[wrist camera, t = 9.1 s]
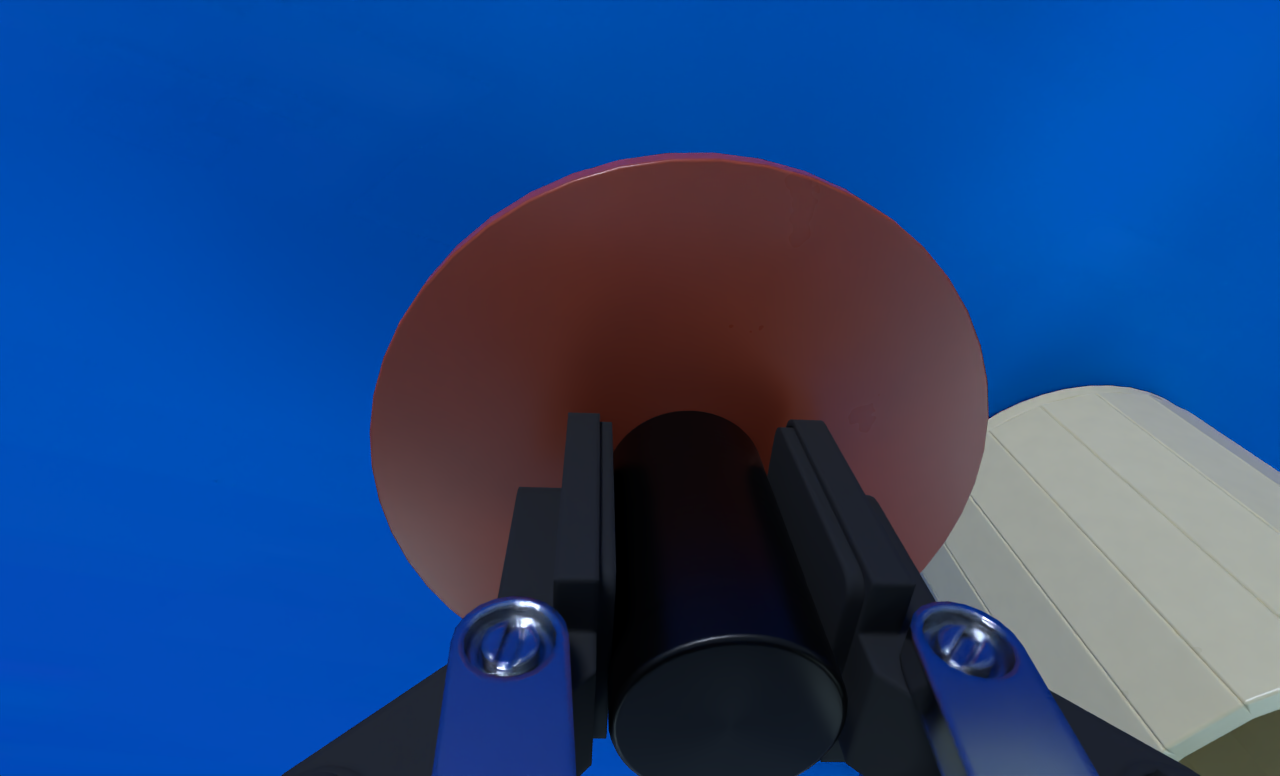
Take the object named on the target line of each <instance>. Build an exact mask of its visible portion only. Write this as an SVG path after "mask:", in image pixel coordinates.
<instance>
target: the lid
mask: <svg viewBox="0 0 1280 776" xmlns="http://www.w3.org/2000/svg"><path fill="white" fill-rule="evenodd" d="M568 412H572V413H600V422H612V433H613V471H614V509H615V547H616V593H615V610H614V625H613V641H612V656H611V661H610V664H609V670H608V724H609V733H610V737H611V740H612V743H613V745H614V747H615V749H616V751H617V753H618V755H619V756H620V758H621V759H622V760H623V762H624V763H625V764H626V765H627V766H628V767H629V768H630V769H631V770H632V771H633V772H635V773H636V774H637V775H639V776H797V775H799V774H801V773H802V772H804V771H805V770H807V769H809V768H810V767H811V766H813V765H814V764H815V763H817V762H818V761H819V760H820V759H821V758H822V757H823V756H824V755H825V754H826V753H827V752H828V751H829V750H830V749H831V748H832V746H833V745H834V744H835V742H836V741H837V739H838V737H839V736H840V734H841V732H842V729H843V727H844V724H845V720H846V716H847V707H848V697H847V692H846V687H845V684H844V682H843V679H842V676H841V674H840V671H839V668H838V666H837V663H836V660H835V657H834V655H833V652H832V649H831V647H830V644H829V641H828V639H827V636H826V633H825V631H824V628H823V625H822V622H821V620H820V617H819V614H818V612H817V609H816V606H815V604H814V601H813V598H812V596H811V593H810V590H809V587H808V585H807V582H806V579H805V577H804V574H803V571H802V569H801V566H800V563H799V561H798V558H797V555H796V552H795V550H794V547H793V544H792V542H791V539H790V536H789V534H788V531H787V528H786V526H785V523H784V520H783V517H782V515H781V512H780V509H779V507H778V504H777V501H776V499H775V496H774V493H773V491H772V488H771V485H770V482H769V480H768V477H767V474H768V469H769V463H770V458H771V452H772V447H773V442H774V436H775V432H776V430H777V428H778V427H786V425H787V423H788V421H789V420H790V419H794V420H821V421H823V422H824V423H825V424H826V426H827V428H828V430H829V431H830V433H831V435H832V437H833V438H834V440H835V442H836V444H837V445H838V447H839V449H840V451H841V452H842V454H843V456H844V458H845V460H846V461H847V463H848V465H849V467H850V468H851V470H852V472H853V474H854V475H855V477H856V479H857V481H858V483H859V484H860V486H861V488H862V490H863V491H864V493H865V495H870V496H872V497H874V498H875V499H876V500H877V502H878V503H879V505H880V506H881V508H882V510H883V512H884V513H885V515H886V517H887V518H888V520H889V522H890V524H891V525H892V527H893V529H894V530H895V532H896V534H897V535H898V537H899V539H900V541H901V542H902V544H903V546H904V547H905V549H906V551H907V553H908V554H909V556H910V558H911V559H912V561H913V563H914V565H915V566H916V568H917V570H918V571H919V573H921V572H922V571H923V570H924V569H925V567H926V566H927V565H928V564H929V562H930V561H931V560H932V558H933V557H934V556H935V554H936V553H937V552H938V551H939V549H940V548H941V547H942V545H943V544H944V543H945V541H946V540H947V538H948V536H949V535H950V533H951V531H952V530H953V528H954V526H955V524H956V523H957V521H958V519H959V518H960V516H961V514H962V512H963V510H964V508H965V505H966V503H967V501H968V498H969V496H970V494H971V492H972V489H973V487H974V485H975V482H976V478H977V475H978V471H979V468H980V464H981V460H982V457H983V453H984V448H985V440H986V432H987V424H988V383H987V377H986V371H985V366H984V361H983V356H982V351H981V345H980V343H979V340H978V337H977V335H976V332H975V329H974V326H973V324H972V321H971V318H970V316H969V313H968V311H967V309H966V307H965V305H964V304H963V302H962V300H961V298H960V297H959V295H958V293H957V291H956V290H955V288H954V286H953V284H952V283H951V281H950V279H949V278H948V276H947V275H946V274H945V273H944V271H943V270H942V269H941V268H940V266H939V265H938V264H937V263H936V262H935V260H934V259H933V258H932V257H931V255H930V254H929V253H928V252H927V251H926V249H925V248H924V247H923V246H922V245H921V244H920V243H918V242H917V241H916V240H915V239H914V238H913V237H912V236H911V235H909V234H908V233H907V232H906V231H905V230H904V229H903V228H902V227H900V226H899V225H898V224H897V223H896V222H895V221H894V220H893V219H891V218H890V217H888V216H886V215H885V214H883V213H882V212H880V211H879V210H877V209H876V208H874V207H872V206H871V205H869V204H868V203H866V202H865V201H863V200H861V199H860V198H858V197H857V196H855V195H854V194H852V193H851V192H849V191H847V190H846V189H844V188H842V187H839V186H837V185H835V184H833V183H830V182H828V181H826V180H824V179H821V178H819V177H817V176H815V175H812V174H810V173H808V172H806V171H803V170H799V169H795V168H792V167H788V166H785V165H781V164H777V163H774V162H770V161H767V160H763V159H758V158H750V157H743V156H735V155H728V154H720V153H664V154H658V155H651V156H644V157H637V158H630V159H623V160H618V161H614V162H611V163H607V164H604V165H600V166H597V167H594V168H590V169H587V170H583V171H580V172H576V173H573V174H571V175H568V176H566V177H564V178H562V179H559V180H557V181H555V182H553V183H550V184H548V185H546V186H544V187H541V188H539V189H537V190H535V191H532V192H530V193H529V194H527V195H525V196H524V197H522V198H521V199H519V200H517V201H516V202H514V203H513V204H511V205H509V206H508V207H506V208H505V209H503V210H501V211H500V212H498V213H496V214H495V215H493V216H492V217H490V218H489V219H488V220H487V221H486V222H484V223H483V224H482V225H481V226H480V227H479V228H477V229H476V230H475V231H474V232H473V233H471V234H470V235H469V236H468V237H467V238H465V239H464V240H463V241H462V242H461V243H459V244H458V245H457V246H456V247H455V249H454V250H453V251H452V252H451V253H450V254H449V255H448V256H447V258H446V259H445V260H444V261H443V262H442V263H441V264H440V265H439V267H438V268H437V269H436V270H435V271H434V272H433V273H432V274H431V276H430V277H429V278H428V280H427V281H426V282H425V284H424V285H423V287H422V288H421V290H420V291H419V293H418V294H417V296H416V297H415V299H414V301H413V302H412V304H411V305H410V307H409V308H408V310H407V311H406V313H405V314H404V316H403V317H402V319H401V321H400V322H399V324H398V327H397V329H396V331H395V333H394V336H393V338H392V340H391V342H390V344H389V347H388V349H387V351H386V353H385V356H384V358H383V361H382V365H381V369H380V372H379V376H378V380H377V384H376V387H375V391H374V395H373V404H372V414H371V424H370V444H371V461H372V469H373V474H374V478H375V483H376V488H377V492H378V497H379V501H380V504H381V506H382V509H383V511H384V514H385V517H386V519H387V522H388V524H389V527H390V529H391V532H392V534H393V536H394V537H395V539H396V541H397V543H398V544H399V546H400V548H401V550H402V551H403V553H404V555H405V557H406V558H407V560H408V562H409V563H410V564H411V565H412V567H413V568H414V569H415V571H416V572H417V573H418V575H419V576H420V577H421V579H422V580H423V581H424V582H425V584H426V585H427V586H428V587H429V588H430V589H431V590H432V591H433V592H434V593H435V594H436V595H437V596H438V597H439V598H440V599H441V600H442V601H443V602H444V603H445V604H446V605H447V606H448V607H449V608H450V609H451V610H452V611H453V612H455V613H456V614H457V615H458V616H460V617H461V618H462V619H463V618H464V616H465V615H466V614H468V613H469V612H471V611H472V610H473V609H475V608H476V607H477V606H479V605H481V604H483V603H486V602H488V601H491V600H493V599H497V598H498V593H499V587H500V582H501V577H502V571H503V566H504V560H505V555H506V549H507V544H508V539H509V533H510V528H511V522H512V517H513V511H514V506H515V501H516V495H517V491H518V488H519V487H548V488H562V477H563V465H564V454H565V443H566V431H567V420H568Z"/></svg>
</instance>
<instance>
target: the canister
mask: <svg viewBox="0 0 1280 776" xmlns="http://www.w3.org/2000/svg"><path fill="white" fill-rule="evenodd" d="M920 575H921V577H922V578H923V580H924V582H925V583H926V585H927V587H928V589H929V590H930V592H931V594H932V595H933V597H934V599H935V601H936V602H941V601H950V602H955V603H961V604H965V605H968V606H971V607H973V608H976V609H979V610H981V611H983V612H985V613H987V614H988V615H990V616H992V617H994V618H995V619H997V620H999V621H1000V622H1001V623H1002V624H1003V625H1005V626H1006V627H1007V628H1008V629H1009V630H1011V631H1012V632H1013V633H1014V635H1015V636H1016V637H1017V638H1018V640H1019V641H1020V642H1021V644H1022V645H1023V646H1024V648H1025V650H1026V651H1027V653H1028V655H1029V657H1030V658H1031V660H1032V662H1033V663H1034V665H1035V667H1036V668H1037V670H1038V672H1039V674H1040V675H1041V677H1042V679H1043V680H1044V682H1045V684H1046V686H1047V687H1048V689H1049V690H1051V691H1052V692H1054V693H1056V694H1058V695H1059V696H1061V697H1063V698H1065V699H1067V700H1068V701H1070V702H1072V703H1074V704H1076V705H1077V706H1079V707H1081V708H1083V709H1084V710H1086V711H1088V712H1090V713H1092V714H1093V715H1095V716H1097V717H1099V718H1101V719H1102V720H1104V721H1106V722H1108V723H1110V724H1111V725H1113V726H1115V727H1117V728H1118V729H1120V730H1122V731H1124V732H1126V733H1127V734H1129V735H1131V736H1133V737H1135V738H1136V739H1138V740H1140V741H1142V742H1143V743H1145V744H1147V745H1149V746H1151V747H1152V748H1154V749H1156V750H1158V751H1160V752H1161V753H1163V754H1165V755H1167V756H1168V757H1170V758H1172V759H1174V760H1176V761H1177V762H1179V763H1181V764H1183V765H1185V766H1186V767H1188V768H1190V769H1191V770H1193V771H1194V772H1196V773H1197V774H1199V775H1200V776H1280V472H1278V471H1277V470H1275V469H1274V468H1272V467H1271V466H1269V465H1268V464H1266V463H1265V462H1263V461H1262V460H1260V459H1259V458H1257V457H1256V456H1254V455H1253V454H1251V453H1250V452H1248V451H1247V450H1245V449H1244V448H1242V447H1241V446H1239V445H1238V444H1236V443H1235V442H1233V441H1232V440H1230V439H1229V438H1227V437H1226V436H1224V435H1223V434H1221V433H1220V432H1219V431H1217V430H1216V429H1214V428H1213V427H1211V426H1210V425H1208V424H1207V423H1205V422H1204V421H1202V420H1201V419H1199V418H1198V417H1196V416H1195V415H1193V414H1192V413H1190V412H1188V411H1187V410H1185V409H1182V408H1179V407H1177V406H1176V405H1174V404H1172V403H1171V402H1169V401H1168V400H1166V399H1164V398H1162V397H1159V396H1157V395H1154V394H1152V393H1150V392H1146V391H1142V390H1138V389H1134V388H1129V387H1119V386H1084V387H1077V388H1069V389H1064V390H1060V391H1055V392H1051V393H1047V394H1043V395H1041V396H1038V397H1035V398H1032V399H1029V400H1026V401H1023V402H1021V403H1019V404H1017V405H1014V406H1012V407H1010V408H1008V409H1006V410H1004V411H1002V412H1000V413H998V414H996V415H995V416H993V417H991V418H989V419H988V424H987V432H986V440H985V448H984V453H983V457H982V460H981V464H980V468H979V471H978V475H977V478H976V482H975V485H974V487H973V489H972V492H971V494H970V496H969V498H968V501H967V503H966V505H965V508H964V510H963V512H962V514H961V516H960V518H959V519H958V521H957V523H956V524H955V526H954V528H953V530H952V531H951V533H950V535H949V536H948V538H947V540H946V541H945V543H944V544H943V545H942V547H941V548H940V549H939V551H938V552H937V553H936V554H935V556H934V557H933V558H932V560H931V561H930V562H929V564H928V565H927V566H926V567H925V569H924V570H923V571H922V572H921V573H920Z"/></svg>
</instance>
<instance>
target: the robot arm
mask: <svg viewBox="0 0 1280 776" xmlns="http://www.w3.org/2000/svg"><path fill="white" fill-rule="evenodd" d="M767 477H768V480H769V482H770V485H771V488H772V491H773V493H774V496H775V499H776V501H777V504H778V507H779V509H780V512H781V515H782V517H783V520H784V523H785V526H786V528H787V531H788V534H789V536H790V539H791V542H792V544H793V547H794V550H795V552H796V555H797V558H798V561H799V563H800V566H801V569H802V571H803V574H804V577H805V579H806V582H807V585H808V587H809V590H810V593H811V596H812V598H813V601H814V604H815V606H816V609H817V612H818V614H819V617H820V620H821V622H822V625H823V628H824V631H825V633H826V636H827V639H828V641H829V644H830V647H831V649H832V652H833V655H834V657H835V660H836V663H837V666H838V668H839V671H840V674H841V676H842V679H843V682H844V684H845V687H846V692H847V697H848V707H847V716H846V720H845V724H844V727H843V729H842V732H841V734H840V736H839V737H838V739H837V741H836V742H835V744H834V745H833V746H832V748H831V749H830V750H829V751H828V752H827V753H826V754H825V755H824V756H823V757H822V758H821V759H820V760H821V762H846V764H848V765H849V766H851V767H852V768H853V769H855V770H856V771H857V772H859V776H1200V775H1199V774H1197V773H1196V772H1194V771H1193V770H1191V769H1190V768H1188V767H1186V766H1185V765H1183V764H1181V763H1179V762H1177V761H1176V760H1174V759H1172V758H1170V757H1168V756H1167V755H1165V754H1163V753H1161V752H1160V751H1158V750H1156V749H1154V748H1152V747H1151V746H1149V745H1147V744H1145V743H1143V742H1142V741H1140V740H1138V739H1136V738H1135V737H1133V736H1131V735H1129V734H1127V733H1126V732H1124V731H1122V730H1120V729H1118V728H1117V727H1115V726H1113V725H1111V724H1110V723H1108V722H1106V721H1104V720H1102V719H1101V718H1099V717H1097V716H1095V715H1093V714H1092V713H1090V712H1088V711H1086V710H1084V709H1083V708H1081V707H1079V706H1077V705H1076V704H1074V703H1072V702H1070V701H1068V700H1067V699H1065V698H1063V697H1061V696H1059V695H1058V694H1056V693H1054V692H1052V691H1051V690H1049V689H1048V687H1047V686H1046V684H1045V682H1044V680H1043V679H1042V677H1041V675H1040V674H1039V672H1038V670H1037V668H1036V667H1035V665H1034V663H1033V662H1032V660H1031V658H1030V657H1029V655H1028V653H1027V651H1026V650H1025V648H1024V646H1023V645H1022V644H1021V642H1020V641H1019V640H1018V638H1017V637H1016V636H1015V635H1014V633H1013V632H1012V631H1011V630H1009V629H1008V628H1007V627H1006V626H1005V625H1003V624H1002V623H1001V622H1000V621H999V620H997V619H995V618H994V617H992V616H990V615H988V614H987V613H985V612H983V611H981V610H979V609H976V608H973V607H971V606H968V605H965V604H961V603H955V602H950V601H941V602H936V601H935V599H934V597H933V595H932V594H931V592H930V590H929V589H928V587H927V585H926V583H925V582H924V580H923V578H922V577H921V575H920V573H919V571H918V570H917V568H916V566H915V565H914V563H913V561H912V559H911V558H910V556H909V554H908V553H907V551H906V549H905V547H904V546H903V544H902V542H901V541H900V539H899V537H898V535H897V534H896V532H895V530H894V529H893V527H892V525H891V524H890V522H889V520H888V518H887V517H886V515H885V513H884V512H883V510H882V508H881V506H880V505H879V503H878V502H877V500H876V499H875V498H874V497H872V496H870V495H865V493H864V491H863V490H862V488H861V486H860V484H859V483H858V481H857V479H856V477H855V475H854V474H853V472H852V470H851V468H850V467H849V465H848V463H847V461H846V460H845V458H844V456H843V454H842V452H841V451H840V449H839V447H838V445H837V444H836V442H835V440H834V438H833V437H832V435H831V433H830V431H829V430H828V428H827V426H826V424H825V423H824V422H823V421H821V420H794V419H790V420H789V421H788V423H787V425H786V427H778V428H777V430H776V432H775V436H774V442H773V447H772V452H771V458H770V463H769V469H768V474H767ZM615 593H616V547H615V509H614V471H613V433H612V422H600V413H572V412H568V420H567V431H566V443H565V454H564V465H563V477H562V488H548V487H519V488H518V491H517V495H516V501H515V506H514V511H513V517H512V522H511V528H510V533H509V539H508V544H507V549H506V555H505V560H504V566H503V571H502V577H501V582H500V587H499V593H498V598H497V599H493V600H491V601H488V602H486V603H483V604H481V605H479V606H477V607H476V608H475V609H473V610H472V611H471V612H469V613H468V614H466V615H465V616H464V618H463V619H462V620H461V621H460V623H459V624H458V625H457V627H456V628H455V631H454V634H453V637H452V640H451V644H450V651H449V658H448V664H447V665H445V666H444V667H442V668H441V669H439V670H438V671H436V672H435V673H433V674H432V675H430V676H429V677H427V678H426V679H424V680H423V681H421V682H420V683H418V684H417V685H415V686H414V687H412V688H411V689H409V690H408V691H406V692H405V693H403V694H402V695H400V696H399V697H397V698H396V699H394V700H393V701H391V702H390V703H388V704H387V705H385V706H384V707H382V708H381V709H379V710H378V711H376V712H375V713H374V714H372V715H371V716H369V717H368V718H366V719H365V720H363V721H362V722H360V723H359V724H357V725H356V726H354V727H353V728H351V729H350V730H348V731H347V732H345V733H344V734H342V735H341V736H339V737H338V738H336V739H335V740H333V741H332V742H330V743H329V744H327V745H326V746H324V747H323V748H321V749H320V750H318V751H317V752H315V753H314V754H312V755H311V756H309V757H308V758H306V759H305V760H303V761H302V762H300V763H299V764H297V765H296V766H294V767H293V768H291V769H290V770H289V771H287V772H286V773H284V774H283V775H282V776H580V775H581V774H582V773H583V772H584V771H585V770H586V769H587V768H588V767H589V766H591V763H592V743H593V738H606V734H607V719H608V670H609V664H610V661H611V656H612V641H613V625H614V610H615Z"/></svg>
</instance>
